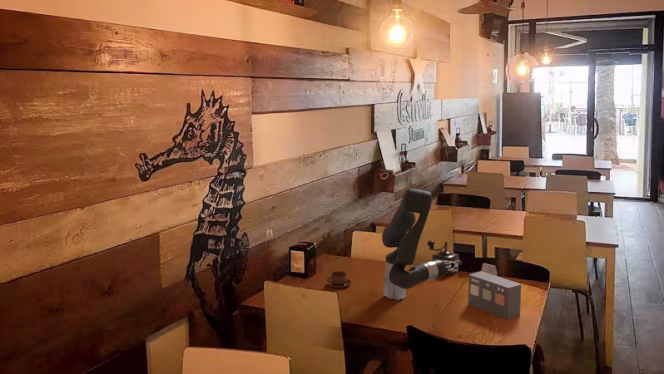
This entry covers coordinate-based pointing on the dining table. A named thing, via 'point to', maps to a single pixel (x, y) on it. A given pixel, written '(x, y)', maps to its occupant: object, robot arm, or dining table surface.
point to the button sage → (487, 294)
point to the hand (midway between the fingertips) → (460, 262)
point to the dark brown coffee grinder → (443, 255)
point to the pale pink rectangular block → (489, 269)
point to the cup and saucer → (338, 280)
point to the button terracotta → (500, 299)
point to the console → (496, 285)
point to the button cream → (475, 290)
